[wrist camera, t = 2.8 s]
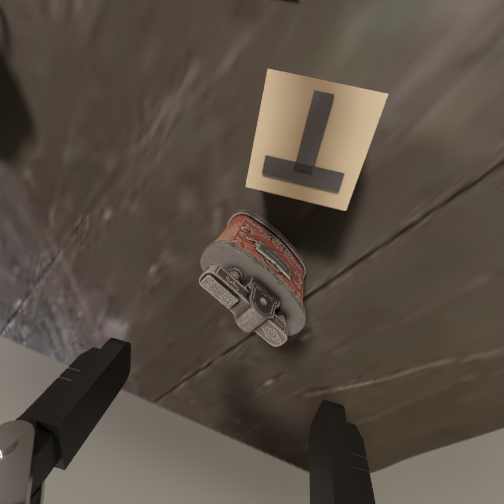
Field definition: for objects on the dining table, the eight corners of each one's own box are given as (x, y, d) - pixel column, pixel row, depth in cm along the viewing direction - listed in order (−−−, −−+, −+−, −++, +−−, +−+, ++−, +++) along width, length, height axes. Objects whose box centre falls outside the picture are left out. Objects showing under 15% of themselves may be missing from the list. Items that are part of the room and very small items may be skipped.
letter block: (365, 102, 19) (389, 93, 13) (335, 192, 22) (345, 215, 16) (278, 84, 19) (267, 68, 14) (259, 174, 22) (244, 190, 17)
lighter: (314, 265, 24) (320, 347, 15) (287, 287, 26) (277, 374, 17) (246, 200, 23) (209, 249, 14) (221, 227, 24) (172, 287, 16)
